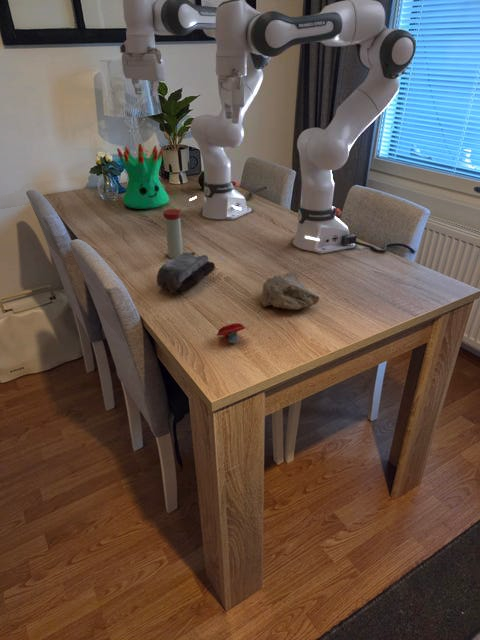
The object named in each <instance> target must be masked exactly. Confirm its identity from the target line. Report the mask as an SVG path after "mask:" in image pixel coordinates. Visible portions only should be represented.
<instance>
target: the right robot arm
mask: <svg viewBox="0 0 480 640" xmlns="http://www.w3.org/2000/svg"><path fill="white" fill-rule="evenodd" d="M214 39H215V43H216V52H215V75H216V76H217V84H218V85H217V86H218V96H219V100H220V102H221V101H222V102H224V108H225V117H226V118H227V119H231V118H232V123H234V124H236V123H238V122H239V113H240V108H241V107H244V105H245V86H244V79H243V77H242V76H245V75H247V53H248V52H252V53H254V54H257V55H264V56H267V57H271V58H272V57H273V58H274V57H278V56H279V55H281V54H283V53H284V52H286V51H287V50H289V49H290V48H291V47H293V46H299V45H303V44H304V45H305V44H311V43H322V45H324V46H325V47H326V46H327V47H346V46H352V45H355V55H356V59H357V61H358V63H359V64H360V65H361V67H363V68H365V69H367V70H369V71H368V74H367V76H366V78H365V79H364V81H363V82H362V83H361V84H359V86H358V87H357V88H355V89H354V91H353V92H352V93H351V94H349V96H348V97H347V98H346V99H345V100H344V101H343V102H342V103H341V104H340V105H339V106H338V107H337V108H336V111H335V115H334V116H333V118H332V120H331V121H330V122H329V124H328V126H327V127H326V128H324V129H323V128H320V127H310V128H307V129H305V130H303V131H301V133H300V134H299V136H298V138H297V140H296V141H297V142H296V147H297V150H298V155H299V167H300V168H299V169H300V178H301V191H300V203H299V205H298V212H297V227H296V231H295V235H294V239H293V241H292V244H293V246H295V247H296V248H298V249H300V250H305V251H309V252H314V253H317V254H327V253H333V252H337V251H343V250H349V249H353V248H355V247H356V245H358V246H360V247H366V248H369V249H371V250H373V251H374V252H376V253H379V254H383V253H386V251H387V248H388V247H403V248H405V249H407V250H409V251H410V252H411V253H412V254H415V253H416V251H415V250H414V248H412V247H411V246H409V245H408V244H405V243H401V242H400V243H399V242H393V243H385V244H384V245H383V249H378V248H377V247H375V246H374V245H371V244H368V243H363V242H361V241H357V235H355V234H354V233H350V230H349V227H348V226H347V225H346V223H344V222H343V221H342V220H341V219H340V218H339V217H337V216H341V215H342V210H341V209H340V208H337V207H335V206H333V200H334V193H335V191H334V190H335V181H334V179H333V173H332V171H337V170H339V169H341V168H343V166H345V164H346V163H347V161H348V159H349V155H350V150H351V149H352V147H353V145H354V144H355V143H356V141H357V139H358V138H359V137H360V136H361V134H362V133H363V132H364V131H365V130H366V129H367V128H368V127H369V126H370V125H371V124H372V123H373V122H374V121H375V120H376V119H377V118H378V117H379V116H380V115H381V114H382V112H384V111H385V110H386V109H387V107H388V106H389V105H390V104H391V102H392V101H393V100H394V99H395V97H396V96H397V94H398V93H399V90H400V82H399V78H401V76H403V75H404V74H405V72H406V71H407V70H406V69H407V68H408V67H409V65H410V64H411V62H412V61H413V59H414V57H415V54H416V49H417V43H416V40H415V39H416V38H415V37H414V36H413V34H412V33H410V32H409V31H407V30H405V29H401V28H398V29H396V28H388V27H387V26H386V10H385V8H384V6H383V4H382V3H381V2H379V0H341V1H337V2H333V3H330V4H328V5H325V6H324V7H323V8H322V9H321V11H320V12H318V13H316V14H310V15H301V16H288V15H286V14H284V13H281V12H279V11H276V10H270V11H266V12H264V13H263V12H261V11H259V10H257V9H255V8H253V7H252V6H251V5H250V4H249V3H248V2H247V1H246V0H225V1H223V2H222V3H221V4H220V5H219V6H218V7H217V11H216V19H215V38H214ZM231 107H232V112H231Z"/></svg>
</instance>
